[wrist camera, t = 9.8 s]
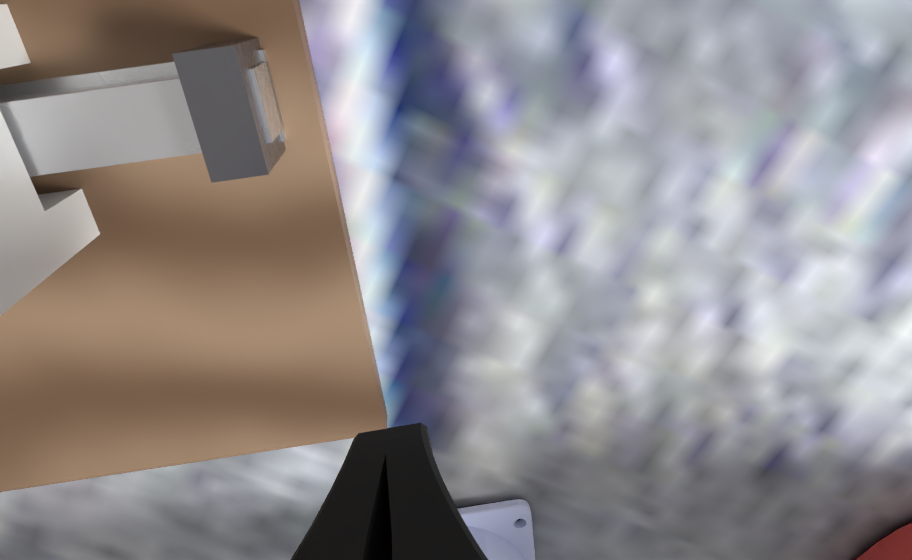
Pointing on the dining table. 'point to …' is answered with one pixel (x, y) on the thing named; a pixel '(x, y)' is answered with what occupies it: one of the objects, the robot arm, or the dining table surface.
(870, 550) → the citrus juicer
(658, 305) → the dining table surface
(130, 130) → the rail
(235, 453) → the board
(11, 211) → the block
